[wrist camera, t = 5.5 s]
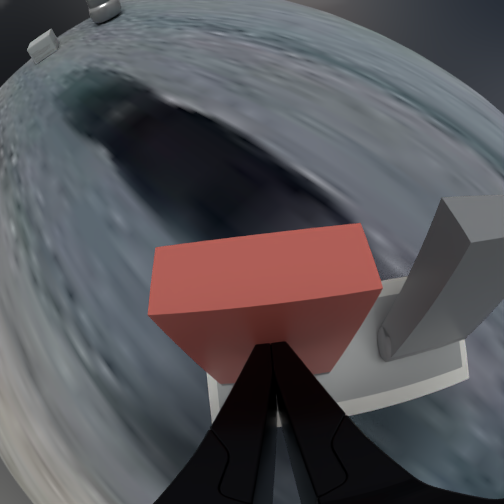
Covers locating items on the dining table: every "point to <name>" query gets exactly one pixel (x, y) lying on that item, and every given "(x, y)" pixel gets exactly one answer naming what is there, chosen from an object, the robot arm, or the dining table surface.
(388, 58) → the dining table surface
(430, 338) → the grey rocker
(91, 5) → the plastic bottle
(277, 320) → the upright red slab
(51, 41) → the small box
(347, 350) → the shallow grey tray
